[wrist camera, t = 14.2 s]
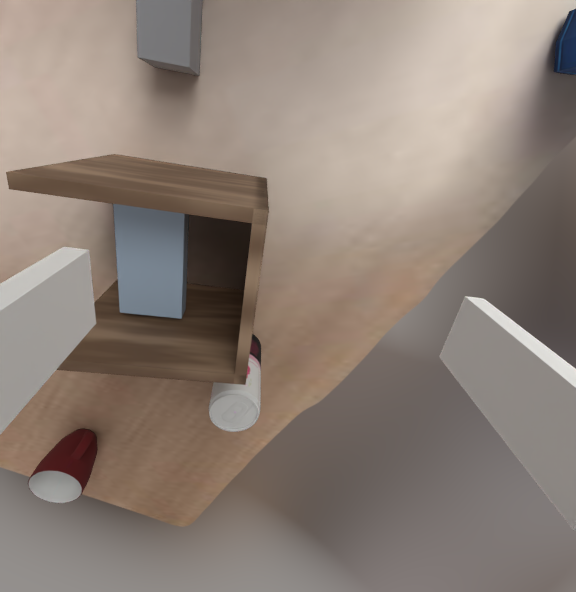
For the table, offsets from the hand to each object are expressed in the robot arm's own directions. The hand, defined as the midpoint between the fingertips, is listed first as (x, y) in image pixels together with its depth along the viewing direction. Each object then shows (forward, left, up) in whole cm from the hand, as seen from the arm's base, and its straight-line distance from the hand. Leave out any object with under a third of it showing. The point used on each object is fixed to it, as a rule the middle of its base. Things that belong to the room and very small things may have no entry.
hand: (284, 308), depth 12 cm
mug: (+49, -27, -37) cm, 67 cm away
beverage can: (+27, -1, -37) cm, 46 cm away
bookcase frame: (+9, -10, -37) cm, 39 cm away
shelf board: (+9, -12, -28) cm, 32 cm away
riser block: (-14, -12, -37) cm, 41 cm away
